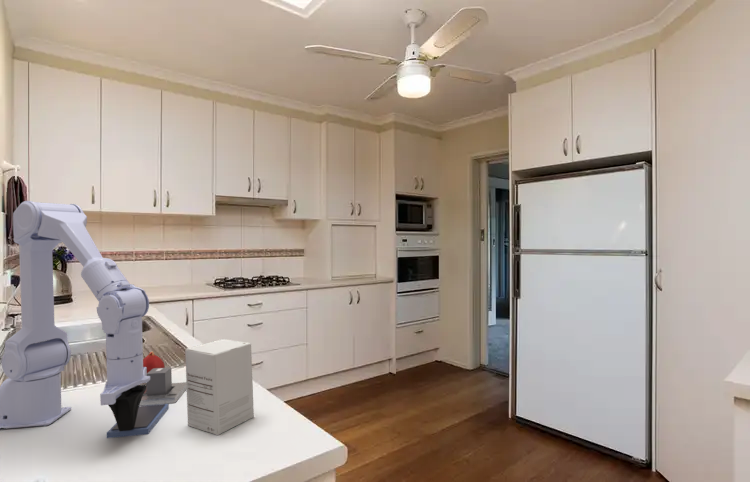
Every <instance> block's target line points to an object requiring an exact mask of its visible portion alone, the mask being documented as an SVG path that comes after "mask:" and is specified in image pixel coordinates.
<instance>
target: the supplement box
mask: <svg viewBox="0 0 750 482" xmlns="http://www.w3.org/2000/svg"><path fill="white" fill-rule="evenodd" d="M184 350H185V351H184V352H185V378H186V379H185V380H186V381H185V382H186V384H187V389H186V408H187V426H188V427H191V428H195V429H197V430H201V431H204V432H207V433H209V434H213V435H217V436H219V435H221V434H222V433H224V432H227V431H229V430H231V429H232V428H235V427H236V426H238V425H240V424H243V423H244V422H246V421H249V420H251V419H252V418H254V417H255V415H254V414H255V413H254V411H255V410H254V409H255V408H254V391H253V390H254V387H253V385H254V383H253V363H252V362H253V361H252V360H253V359H252V358H253V356H252V343H251V342H245V341H238V340H233V339H227V338H221V339H217V340H215V341H210V342H206V343H203V344H200V345H196V346H192V347H187V348H185V349H184Z"/></svg>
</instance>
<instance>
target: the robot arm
mask: <svg viewBox="0 0 750 482" xmlns="http://www.w3.org/2000/svg"><path fill="white" fill-rule="evenodd" d="M12 215H13V216H12V224H13V225H12V226H13V227H12V230H13V243H16V245H18V251H19V256H18V257H19V282H20V283H19V284H20V287H19V288H20V311H21V312H20V314H21V315H20V316H21V328H20V329H19V330H17V332H15V333H14V334H12V336H10V337H9V338H7V339H6V340H5V342H4V351H3V355H2V358H1V369H2V371H3V373H4V375H5V376H6V377H7V378H5V380H3V382H1V385H0V428H6V429H15V428H16V429H17V428H29V427H41V426H49V425H51V424H52V423H54V422H56V420H58V419H59V418H60V417H62V416H63V415H65V414H66V413H68V412H69V411H70V410H72V407H71V406H66V407H65V406H64V407H62V380H61V379H62V378H61V375H62V374H61V372H64V371H65V366H67V365H68V364H69V362H70V359H71V356H72V350H71V349H72V348H71V346H70V344H69V340H68V332H67V331H65V330H63V329H61V328H60V327H58V326H56V325H55V293H54V268H53V267H54V262H53V250H54V249H55V248H56V247H57V246H58V245H60V244H61V243H63V244H64V245H65V247H66V248H67V249H68V250H69V251H70V253H72V255H73V257H74V258H76V260H77V261H78V262H79V263H80V265H82V266H83V268H82V270H81V273H80V276H81V278H82V280H83V281H84V283H85V284H86V285H87V287H88V288H89V290H90V291H91V293H92V294H93V295H94V297H95V298H96V300H97V302H98V306H97V307H96V312H97V316H98V318H99V320H100V322H101V328H102V329H101V330H102V331H103V334H105V350H106V352H105V353H106V356H105V357H106V382H105V384H104V388H103V391H102V392H101V393H100V395H99V397H100V398H99V400H100V406H107V405H108V407H109V409H110V410H111V412H112V414H113V416H114V420H115V424H116V423H117V426H118V429H119V431H130V430H132V429H133V428H134V426H135V422H136V418H137V413H138V408H139V405H140V402H141V399H142V396H143V394H144V392H145V390H146V385H145V384H146V383H147V382H148V381H149V380H150V376H147V367H143V359H144V350H143V349H144V348H143V347H144V346H143V345H144V344H143V317H145V316H146V315H147V314H148V312H149V308H150V300H149V297H148V295H147V293H146V290H145V289H143V288H141V287H138V286H135V284H132V283H130V282H129V281H128V280H127V277H125V275H124V274H123V273H122V270H121V269H120V268H119V267H118V264H117V263H116V262H115V260H114V259H112V258H110V257H109V258H108V257H103V256H102V254H101V252H100V249H98V246H97V245H96V244H95V242H94V240H93V238H92V236H91V234H90V233H89V231H88V229H87V222H88V215H86V214H85V212H84V210H83V208H81V206H79V205H78V204H76V203H69V204H68V203H54V202H53V203H52V202H39V201H33V200H24V201H22V202H21V203H20V204H19V205H18V206H17V208H16V209H15V210H14V211H13V214H12Z"/></svg>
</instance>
